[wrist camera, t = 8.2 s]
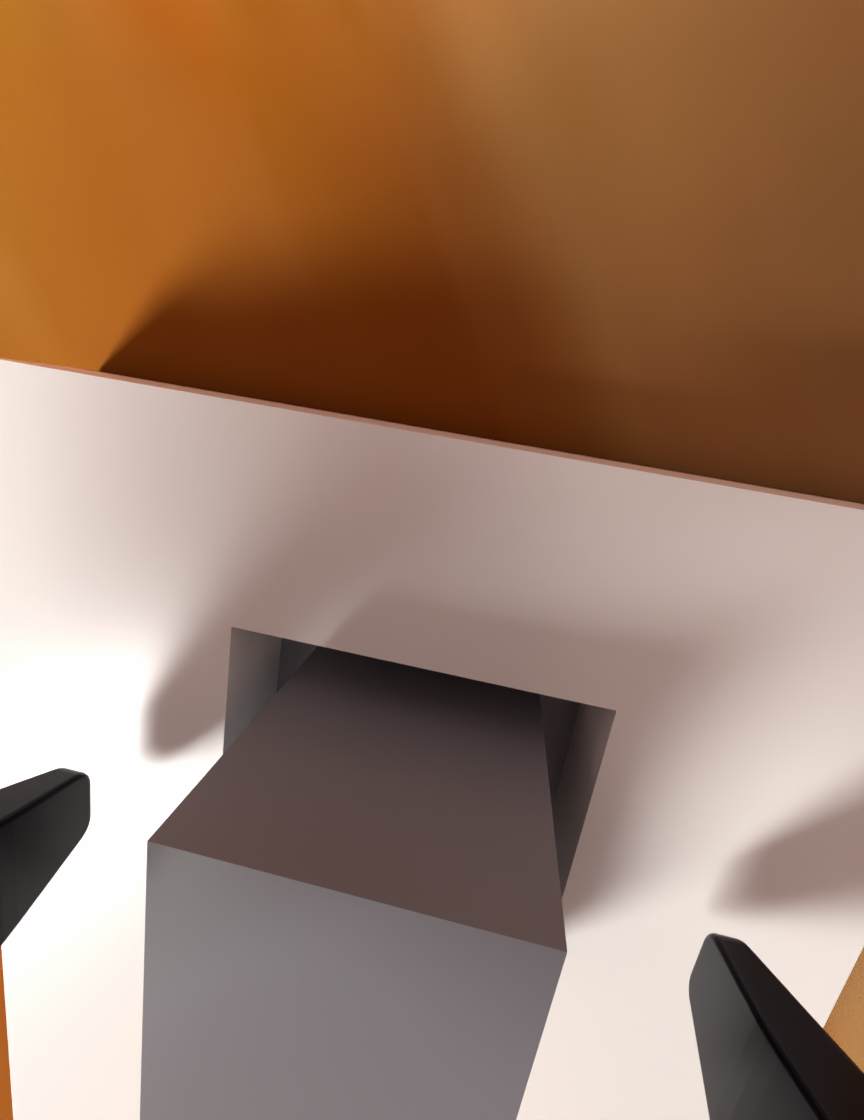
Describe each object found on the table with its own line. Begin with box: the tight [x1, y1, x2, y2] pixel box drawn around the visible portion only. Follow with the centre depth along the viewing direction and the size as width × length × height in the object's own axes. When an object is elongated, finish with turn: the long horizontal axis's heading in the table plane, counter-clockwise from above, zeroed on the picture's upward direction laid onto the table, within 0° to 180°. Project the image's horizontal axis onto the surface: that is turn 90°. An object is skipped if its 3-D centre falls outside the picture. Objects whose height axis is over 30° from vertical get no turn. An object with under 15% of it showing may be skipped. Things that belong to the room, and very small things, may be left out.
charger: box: [140, 646, 567, 1120], centre depth 8 cm, size 4×4×5 cm
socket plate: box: [0, 358, 864, 1120], centre depth 10 cm, size 14×18×2 cm
